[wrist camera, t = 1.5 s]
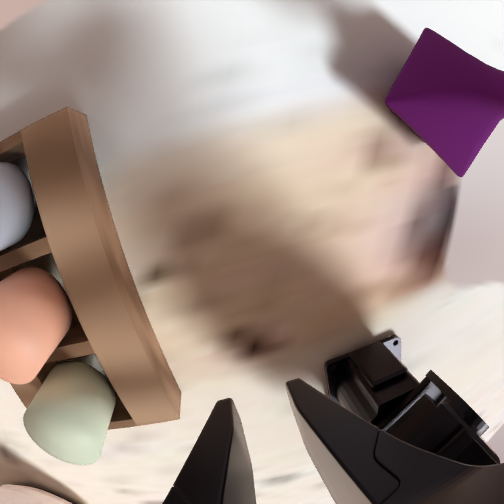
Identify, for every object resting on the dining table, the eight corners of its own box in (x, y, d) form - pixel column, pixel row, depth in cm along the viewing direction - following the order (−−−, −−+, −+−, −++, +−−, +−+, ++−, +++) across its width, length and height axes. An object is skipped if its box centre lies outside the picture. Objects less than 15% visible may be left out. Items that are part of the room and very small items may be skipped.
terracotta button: (84, 334, 17) (56, 379, 12) (27, 347, 16) (-5, 387, 12) (52, 256, 15) (10, 285, 11) (-4, 277, 15) (-47, 306, 11)
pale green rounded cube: (128, 412, 19) (116, 463, 14) (72, 419, 18) (53, 464, 14) (94, 354, 17) (70, 402, 13) (37, 365, 17) (8, 408, 12)
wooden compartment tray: (181, 392, 22) (179, 419, 19) (55, 411, 21) (44, 433, 18) (86, 115, 16) (67, 107, 13) (-40, 183, 15) (-65, 187, 12)
